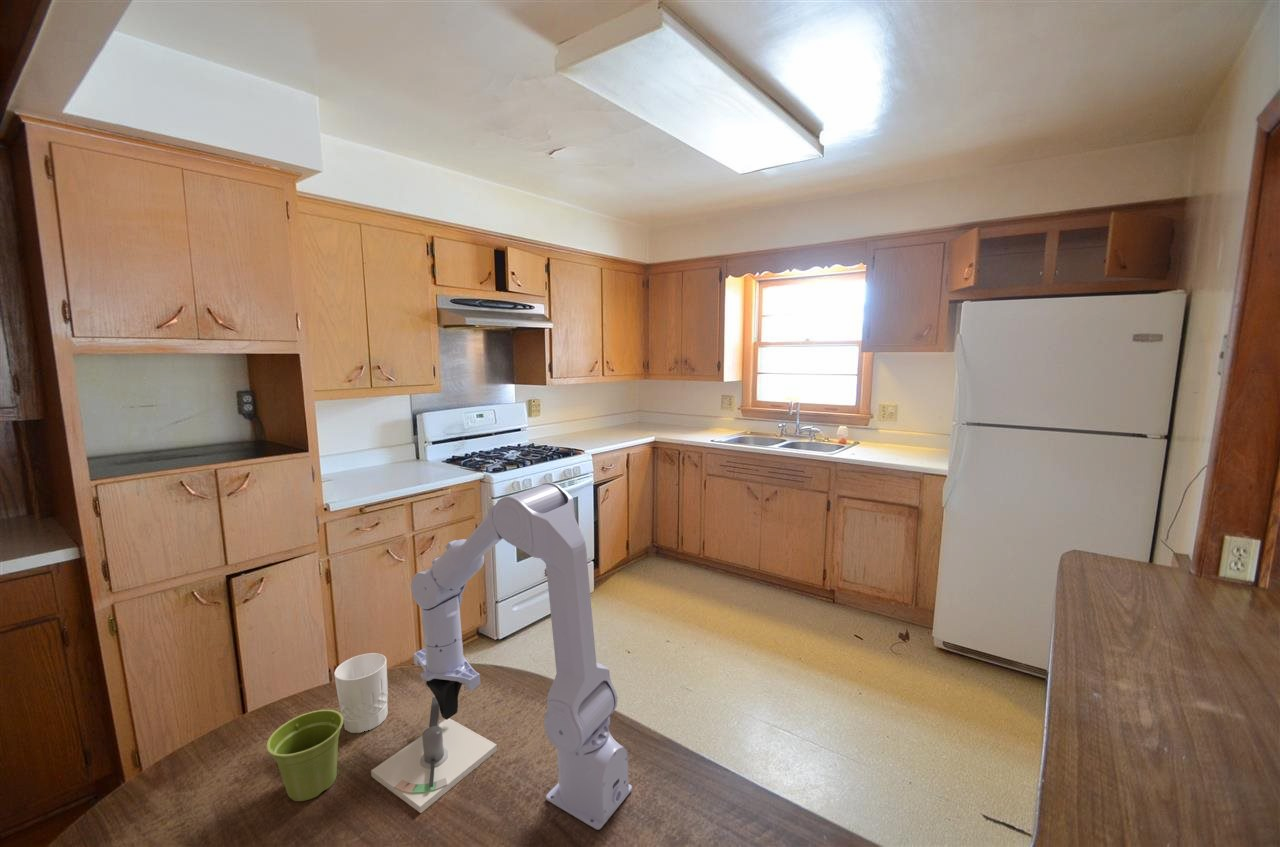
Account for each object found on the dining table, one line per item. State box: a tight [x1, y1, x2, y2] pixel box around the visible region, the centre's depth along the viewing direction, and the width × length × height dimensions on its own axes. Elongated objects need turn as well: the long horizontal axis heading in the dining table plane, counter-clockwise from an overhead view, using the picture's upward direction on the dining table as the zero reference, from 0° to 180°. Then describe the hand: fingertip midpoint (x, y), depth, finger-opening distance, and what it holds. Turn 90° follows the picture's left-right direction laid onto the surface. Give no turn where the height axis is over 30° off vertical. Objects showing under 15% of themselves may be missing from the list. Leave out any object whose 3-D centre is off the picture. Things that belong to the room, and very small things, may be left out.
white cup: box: [333, 652, 389, 734], centre depth 90 cm, size 8×8×10 cm
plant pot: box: [266, 709, 344, 802], centre depth 76 cm, size 9×9×9 cm
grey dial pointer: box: [421, 696, 444, 788], centre depth 81 cm, size 16×3×4 cm, turn 18°
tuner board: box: [370, 717, 498, 814], centre depth 80 cm, size 12×14×1 cm
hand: (449, 715), depth 87 cm, fingers closed, pressing on grey dial pointer
